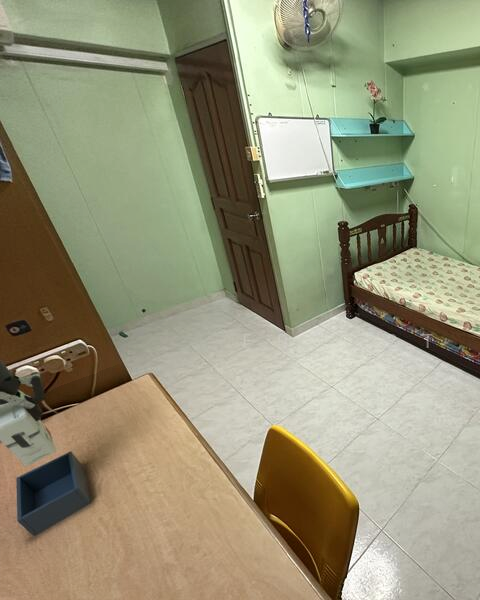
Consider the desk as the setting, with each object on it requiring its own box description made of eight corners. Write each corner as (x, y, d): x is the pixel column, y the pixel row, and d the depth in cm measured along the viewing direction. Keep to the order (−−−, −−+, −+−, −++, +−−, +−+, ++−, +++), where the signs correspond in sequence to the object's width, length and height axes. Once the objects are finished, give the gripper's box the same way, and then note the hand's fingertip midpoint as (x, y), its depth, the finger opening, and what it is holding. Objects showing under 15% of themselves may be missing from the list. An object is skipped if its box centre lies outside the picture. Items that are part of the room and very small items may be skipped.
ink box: (19, 445, 70) (-14, 408, 64) (50, 431, 73) (21, 394, 68) (24, 468, 65) (-11, 430, 60) (57, 451, 69) (27, 414, 63)
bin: (34, 537, 66) (17, 521, 63) (32, 493, 74) (16, 477, 71) (91, 503, 72) (78, 487, 69) (83, 467, 80) (71, 450, 77)
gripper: (21, 339, 64) (63, 398, 73) (-98, 374, 55) (-34, 437, 63) (23, 355, 60) (67, 416, 68) (-106, 396, 51) (-37, 461, 59)
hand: (18, 426), depth 66 cm, fingers closed on ink box, 5 cm apart
